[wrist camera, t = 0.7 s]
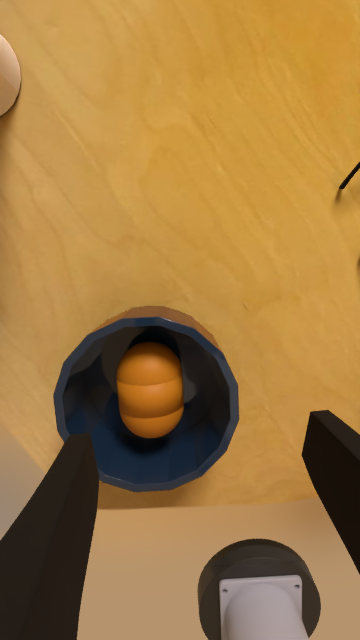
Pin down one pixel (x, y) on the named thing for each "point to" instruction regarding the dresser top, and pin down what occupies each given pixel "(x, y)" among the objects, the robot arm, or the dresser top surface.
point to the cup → (8, 76)
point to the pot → (103, 407)
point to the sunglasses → (349, 176)
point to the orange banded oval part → (150, 389)
